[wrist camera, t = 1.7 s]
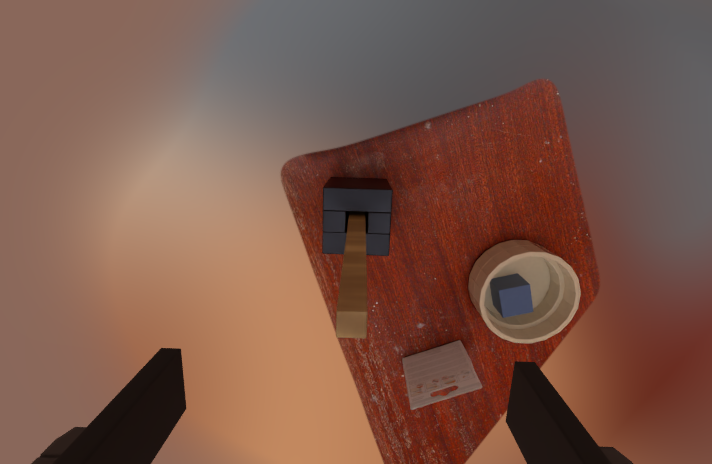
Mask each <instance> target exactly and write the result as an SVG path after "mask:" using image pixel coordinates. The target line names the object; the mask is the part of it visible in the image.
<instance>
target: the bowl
mask: <svg viewBox="0 0 712 464" xmlns="http://www.w3.org/2000/svg"><path fill="white" fill-rule="evenodd" d="M516 273H518V274H519V275H520V276H521V277H522V278H524V279H525V280H526V281H527V282H528V283H529V284H530V288H531V296H532V304H533V312H531V313H526V314H521V315H516V316H511V317H506V318H503V317H502V316H501V315H500V313H499V312H498V311H497V309H496V308H495V307H494V306H493V302H492V296H491V289H490V281H491V279H492V278H497V277H502V276H507V275H511V274H516ZM468 290H469V294H470V299H471V301H472V303H473V304H474V306H475V307H476V309H477V310H478V312H479V314H480V315H481V317H482V318H483V320H484V321H485V323H486V324H487V326H488V327H489V329H490V330H491V331H493V332H494V333H495V334H496V335H498V336H499V337H500V338H503V339H505V340H508V341H511V342H514V343H534V342H538V341H542V340H546V339H548V338H550V337H551V336H553V335H555V334H557V333H559V332H560V331H561V330H562V329H563V328H564V327H565V326H566V325H567V324H568V323H569V322H570V321H571V319H572V318H573V316H574V314H575V312H576V311H577V309H578V305H579V300H580V295H581V292H580V286H579V280H578V278H577V276H576V274H575V272H574V270H573V269H572V267H571V266H570V265H569V264H567V263H566V262H565V261H564V260H562V259H561V258H560V257H558V256H557V255H555V254H554V253H552V252H550V251H549V250H547V249H546V248H544V247H542V246H541V245H539V244H536V243H533V242H530V241H528V240H510V241H506V242H502V243H499V244H497V245H495V246H493V247H492V248H490V249H488V250H487V251H485V252H484V253H483V254H482V255H481V256H480V258H479V259H478V260H477V261H476V262H475V264H474V266H473V269H472V271H471V273H470V276H469V284H468Z"/></svg>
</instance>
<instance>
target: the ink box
mask: <svg viewBox="0 0 712 464" xmlns="http://www.w3.org/2000/svg"><path fill="white" fill-rule="evenodd" d="M402 361H403V367H404V372H405V378H406V383H407V390H408V395H409V401H410V407H411V410H413V409H416V408H420V407H423V406H425V405H429V404H432V403H435V402H438V401H441V400H445V399H448V398H451V397H455V396H458V395H461V394H464V393H467V392H471V391H474V390H477V389H481V388H482V385H481V383H480V381H479V379H478V377H477V374H476V372H475V370H474V367H473V364H472V362H471V360H470V358H469V356H468V354H467V352H466V350H465V348H464V346H463V344H462V342H461V341H460V340H458V341H455V342H452V343H449V344H446V345H443V346H440V347H437V348H433V349H430V350H427V351H424V352H421V353H418V354H414V355H411V356H408V357H405V358H403V359H402ZM452 386H458V389H457V390H455V391H451V392H449V394H448V395H446V396H441V395H438V396H435V397H431V396H430V394H431V393H432V392H435V391H438V390H441V389H445V388H448V387H452Z"/></svg>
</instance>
